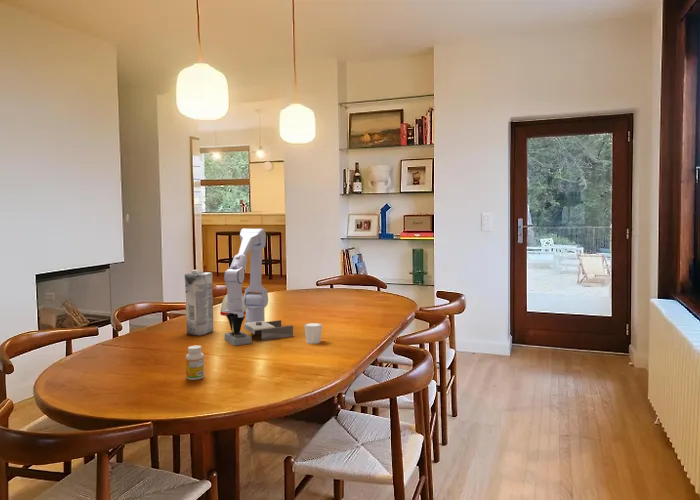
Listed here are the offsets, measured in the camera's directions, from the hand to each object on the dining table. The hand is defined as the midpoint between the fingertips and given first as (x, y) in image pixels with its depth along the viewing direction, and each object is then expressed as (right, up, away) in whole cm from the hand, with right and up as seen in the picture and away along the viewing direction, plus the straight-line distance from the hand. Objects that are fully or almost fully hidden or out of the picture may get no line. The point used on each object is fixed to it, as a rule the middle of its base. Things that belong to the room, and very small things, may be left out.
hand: (235, 332), depth 209 cm
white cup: (+31, -4, -4) cm, 32 cm away
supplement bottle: (-2, -7, -46) cm, 47 cm away
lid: (+9, 0, +4) cm, 10 cm away
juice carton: (-18, -3, +12) cm, 22 cm away
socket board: (+1, -3, -2) cm, 4 cm away
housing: (+13, -3, +8) cm, 16 cm away
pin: (0, -2, 0) cm, 2 cm away
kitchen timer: (-12, +1, +54) cm, 55 cm away
